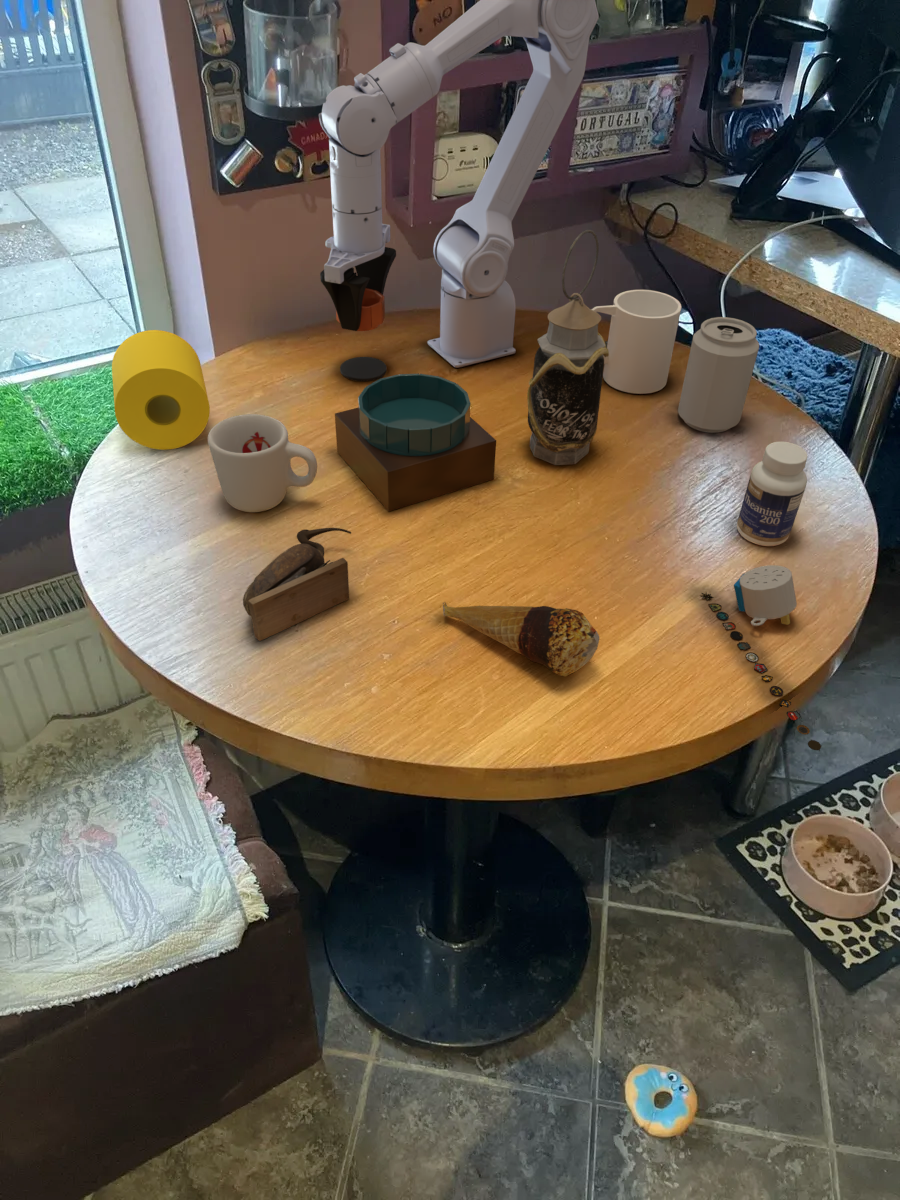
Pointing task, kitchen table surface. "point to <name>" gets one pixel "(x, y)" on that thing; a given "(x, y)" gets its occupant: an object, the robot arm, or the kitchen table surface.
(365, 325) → the small bowl
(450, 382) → the big bowl
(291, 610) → the figurine
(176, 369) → the tape roll
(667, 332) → the cup
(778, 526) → the pill bottle
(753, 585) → the electric motor
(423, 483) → the stand
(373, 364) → the coaster
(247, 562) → the kitchen table surface
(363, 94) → the robot arm
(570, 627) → the ice cream cone
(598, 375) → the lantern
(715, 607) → the bead strand
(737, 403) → the can
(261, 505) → the cup
